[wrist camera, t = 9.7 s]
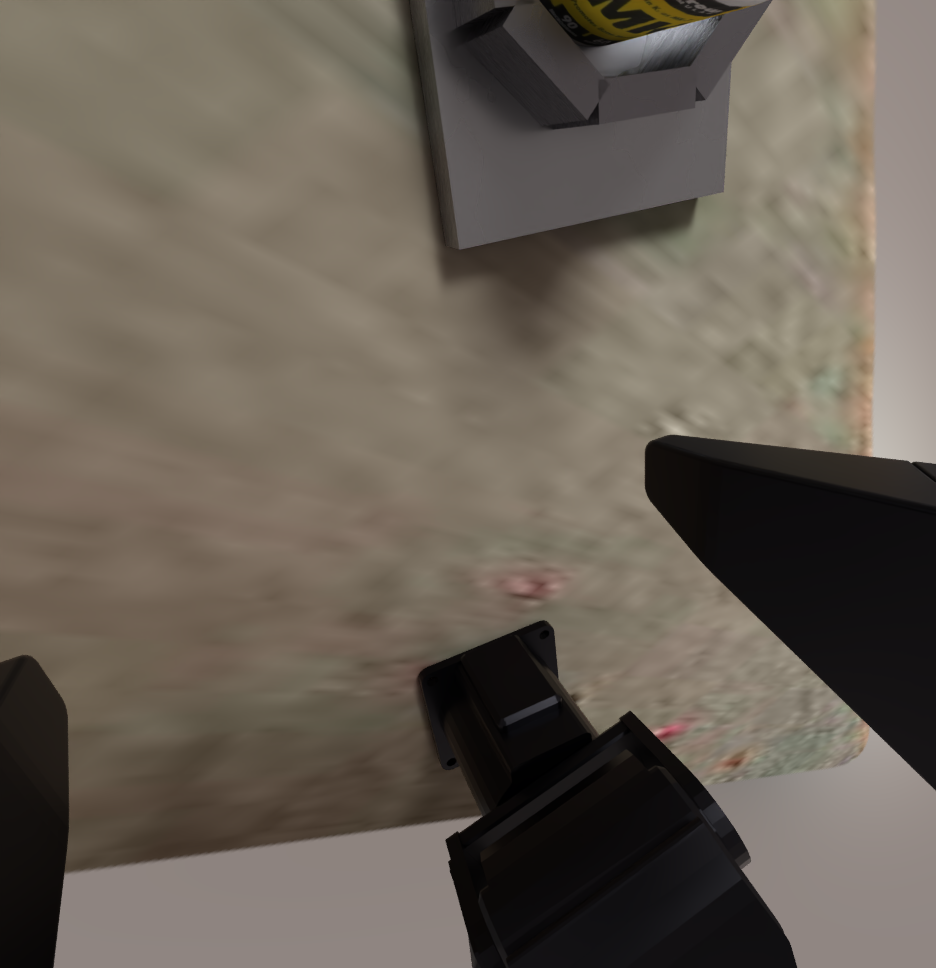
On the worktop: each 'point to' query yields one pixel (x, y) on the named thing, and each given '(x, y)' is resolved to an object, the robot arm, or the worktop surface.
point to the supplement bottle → (632, 17)
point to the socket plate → (553, 167)
